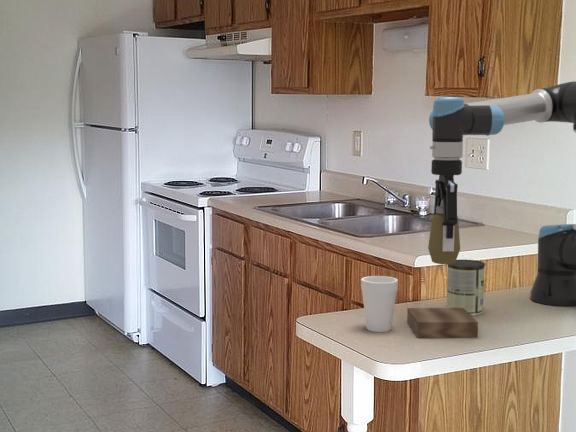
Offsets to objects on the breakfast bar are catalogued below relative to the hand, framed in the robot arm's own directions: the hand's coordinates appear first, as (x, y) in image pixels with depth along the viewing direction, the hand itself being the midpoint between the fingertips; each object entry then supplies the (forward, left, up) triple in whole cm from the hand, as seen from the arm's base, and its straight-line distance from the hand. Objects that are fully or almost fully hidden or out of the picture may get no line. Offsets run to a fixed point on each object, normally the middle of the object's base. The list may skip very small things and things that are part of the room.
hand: (444, 248), depth 203 cm
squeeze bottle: (0, 0, -4) cm, 4 cm away
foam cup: (+16, -2, -22) cm, 27 cm away
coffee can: (-11, -20, -22) cm, 31 cm away
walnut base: (0, 0, -21) cm, 21 cm away
